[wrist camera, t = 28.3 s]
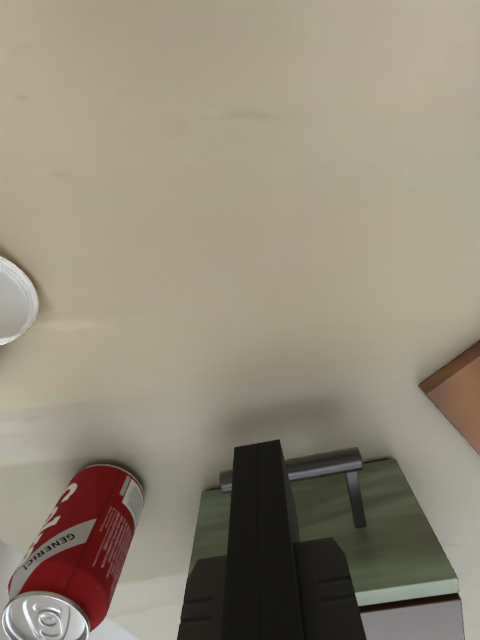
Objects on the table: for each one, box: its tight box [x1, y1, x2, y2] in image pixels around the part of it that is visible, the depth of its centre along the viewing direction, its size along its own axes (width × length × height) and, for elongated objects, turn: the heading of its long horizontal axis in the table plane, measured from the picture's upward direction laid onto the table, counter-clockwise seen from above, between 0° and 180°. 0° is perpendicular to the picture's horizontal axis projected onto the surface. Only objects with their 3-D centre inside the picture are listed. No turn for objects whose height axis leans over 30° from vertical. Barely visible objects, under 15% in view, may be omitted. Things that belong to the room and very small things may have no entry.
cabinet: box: [358, 593, 465, 640], centre depth 33 cm, size 16×17×12 cm
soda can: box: [1, 464, 145, 640], centre depth 31 cm, size 7×7×12 cm
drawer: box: [183, 447, 459, 606], centre depth 31 cm, size 22×17×11 cm
